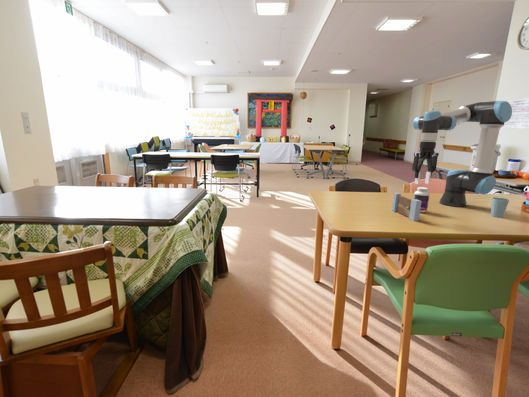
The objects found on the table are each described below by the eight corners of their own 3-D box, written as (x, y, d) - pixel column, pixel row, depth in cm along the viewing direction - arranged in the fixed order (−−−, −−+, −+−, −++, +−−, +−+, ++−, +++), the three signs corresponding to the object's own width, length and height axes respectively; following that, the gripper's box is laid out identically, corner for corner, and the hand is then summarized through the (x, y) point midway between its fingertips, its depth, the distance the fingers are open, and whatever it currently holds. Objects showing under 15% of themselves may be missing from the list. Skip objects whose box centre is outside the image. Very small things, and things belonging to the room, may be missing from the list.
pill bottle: (428, 213, 172) (432, 189, 169) (414, 212, 174) (417, 188, 171) (424, 209, 180) (427, 187, 177) (410, 209, 182) (413, 186, 178)
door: (398, 211, 174) (400, 195, 172) (411, 217, 162) (414, 200, 160) (394, 211, 174) (396, 195, 171) (407, 217, 162) (410, 200, 160)
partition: (396, 210, 177) (398, 192, 175) (418, 220, 158) (421, 201, 156) (391, 210, 177) (393, 192, 174) (413, 220, 158) (416, 201, 155)
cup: (506, 216, 170) (510, 199, 167) (504, 219, 164) (508, 201, 162) (490, 213, 175) (493, 196, 172) (487, 216, 170) (491, 198, 167)
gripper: (438, 141, 162) (431, 182, 168) (408, 140, 159) (402, 182, 164) (448, 141, 155) (441, 184, 160) (417, 141, 152) (411, 185, 157)
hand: (421, 183), depth 162 cm, fingers open, 6 cm apart
